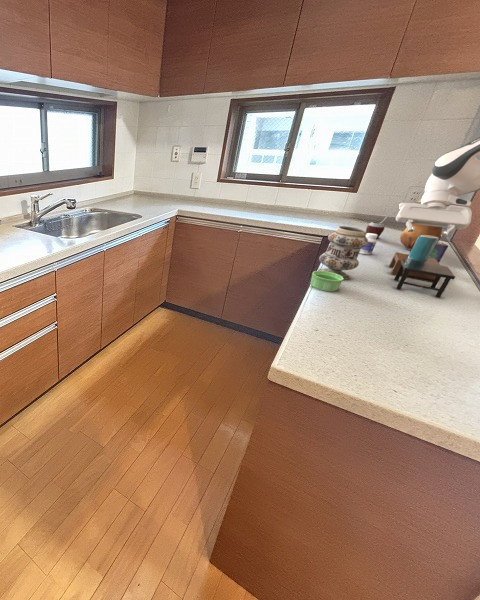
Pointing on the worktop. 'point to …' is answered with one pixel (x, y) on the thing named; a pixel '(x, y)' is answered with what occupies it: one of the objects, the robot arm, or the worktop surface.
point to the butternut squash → (411, 237)
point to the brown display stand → (399, 256)
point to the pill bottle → (369, 244)
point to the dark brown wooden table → (424, 269)
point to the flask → (438, 251)
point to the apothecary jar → (343, 250)
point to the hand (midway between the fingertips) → (427, 233)
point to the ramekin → (326, 280)
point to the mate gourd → (376, 227)
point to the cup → (423, 248)
